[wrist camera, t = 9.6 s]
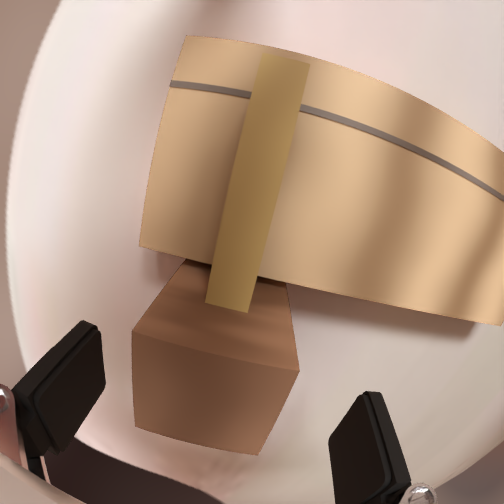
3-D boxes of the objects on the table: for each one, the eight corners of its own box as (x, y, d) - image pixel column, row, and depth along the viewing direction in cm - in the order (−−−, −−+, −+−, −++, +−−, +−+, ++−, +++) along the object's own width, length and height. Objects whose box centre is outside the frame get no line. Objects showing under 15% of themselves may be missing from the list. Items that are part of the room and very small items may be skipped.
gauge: (326, 107, 13) (391, 53, 5) (260, 346, 17) (258, 455, 9) (230, 83, 13) (194, 6, 5) (181, 327, 17) (135, 426, 9)
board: (522, 184, 13) (546, 189, 10) (482, 310, 16) (501, 326, 13) (197, 53, 12) (186, 35, 10) (157, 233, 15) (138, 246, 13)
